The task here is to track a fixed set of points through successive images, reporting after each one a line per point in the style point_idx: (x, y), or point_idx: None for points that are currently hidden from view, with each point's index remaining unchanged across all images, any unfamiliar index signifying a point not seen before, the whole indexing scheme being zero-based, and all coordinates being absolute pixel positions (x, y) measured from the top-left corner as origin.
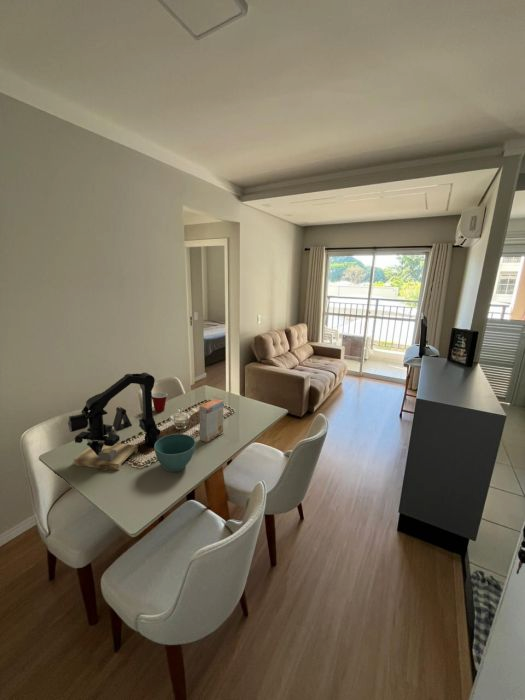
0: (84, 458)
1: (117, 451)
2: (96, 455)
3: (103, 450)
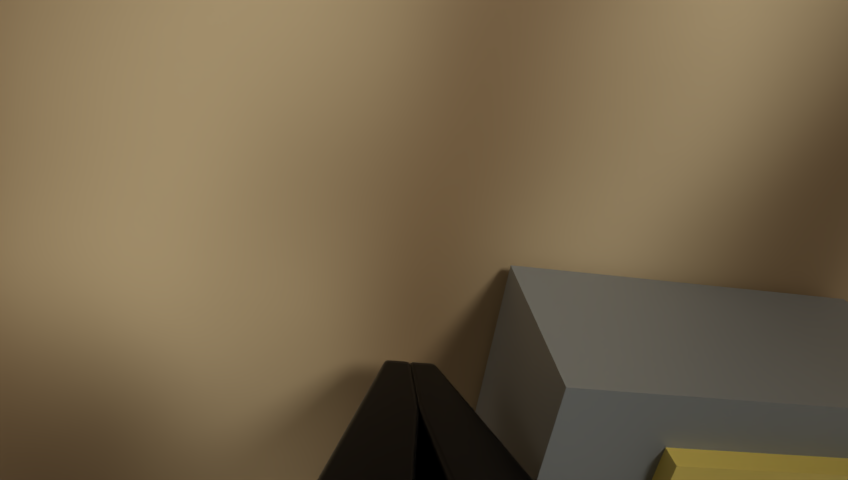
0: (79, 438)
1: (841, 70)
2: (302, 301)
3: (589, 474)
